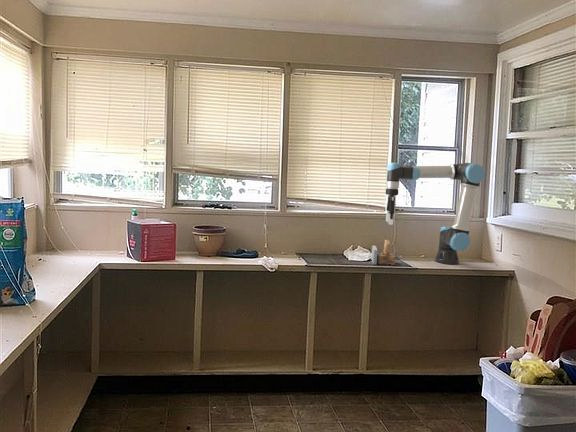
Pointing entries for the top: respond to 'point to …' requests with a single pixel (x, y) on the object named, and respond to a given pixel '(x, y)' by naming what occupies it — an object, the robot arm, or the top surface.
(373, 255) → the backstop
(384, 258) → the block
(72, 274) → the top surface
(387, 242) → the dowel
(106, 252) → the top surface
